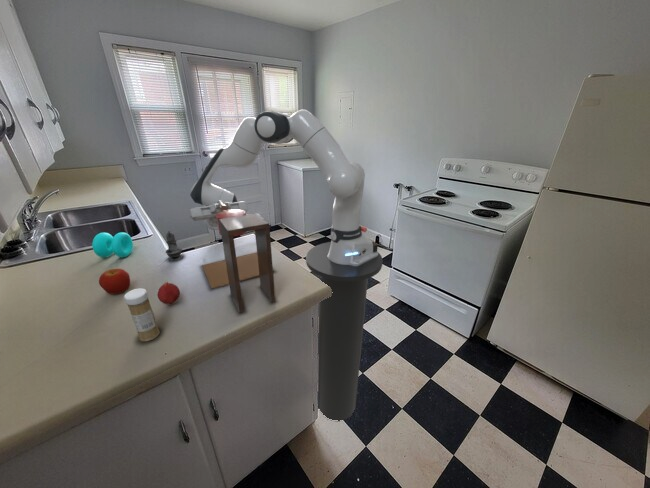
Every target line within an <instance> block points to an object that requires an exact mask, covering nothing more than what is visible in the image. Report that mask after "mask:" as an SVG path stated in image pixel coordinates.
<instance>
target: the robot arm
mask: <svg viewBox="0 0 650 488" xmlns="http://www.w3.org/2000/svg"><path fill="white" fill-rule="evenodd" d="M293 140H294V141H296V142H297V143H298V145H300V147H301V148H302V149H303V150H304V152H305V153H306V154H307V155H308V156H309V158H311V161H313V162H314V164H315V165H316V166H317V168H318V169H319V171H320V173H321V174H322V176H323V178H324V180H325V181H326V183H327V186H328V189H329V191H330V193H331V194H332V195H333V196H334V199H333V200H334V201H333V205H332V216H331V217H332V218H331V219H332V220H331V223H332V224H331V226H330V240H331V241H330V242H331V245H330V250H329V253H328V259H329V260H330V261H332V262H334V263H337V264H342V265H351V266H359V265H361V264H363V263H365V262H367V261H369V260H371V259H373V258H375V257H377V256H378V253H379V251H378V249H379V247H378V244H377V243H376V242H375V241H372V240H371V239H370V238H368V237H367V236H366V235H365V234H363V233H367V231H368V228H367V227H365V226H361V225H360V222H361V221H360V220H361V207H362V203H363V202H362V201H363V195H364V186H365V180H366V179H365V178H366V173H365V169H364V167H363V166H362V165H361V164H359V163H358V162H355V161H349V160H348V158H347V156H346V155H345V153H344V151H343V150H342V148H341V145H340V144H339V143H338V141H337V140H336V139H335V138H334V136H333V135H332V134H331V133H330V131H329V130H328V129H327V128H326V127H325V125H324V124H323V123H322V122H321V121H320V120H319V119H318V118H317V117H316V116H315V115H314V114H313V113H311V112H310V111H309V110H307V109H304V108H302V109H299V110H296V111H295V112H294V113H292V115H291V116H290V115H287V114H285V113H282V112H281V111H280V112H279V111H274V110H264V111H262V112H260V113H259V114H258V115H257V116H256V117H254V116H253V117H252V116H247V117H245V118H244V119H243V120H242V121H241V123H240V124H239V125H238V127H237V129H236V130H235V133H234V135H233V137H232V140H231V142H230V143H229V144H228V145H227V146H226V147H221V148H219V149H218V150H217V151H216V152H215V154H214V155H213V157H212V158H211V159H210V160H209V162H208V164H207V166H206V167H205V169H204V170H203V172H202V174H201V175H200V177H199V178H198V179H197V180H196V182H194V184H193V185H192V187H191V189H190V193H189V196H190V198H191V199H192V201H193V203H195V204H199V205H202V206H197V207H192V208H190V209H189V211H190V215H189V219H190V220H192V221H194V222H200V221H204V225H205V227H207V228H208V229H209V230H211V231H219V229H218V224H217V218H216V215H217V214H218V213H219V212H222V211H221V210H220V208H219V204H217V201H222V202H223V203H224V204H225V205H226V206H227V207H228V208H229V209H230V210H232V209H238V210H243V211H245V212H246V213H247V212H248V211H249V207H248V202H247V201H245V200H242V201H238V198H237V196H236V194H235V193H234V192H232V191H229V190H228V189H225V188H222V187H220V186H218V185H215V184H214V183H211V180H212V179H213V178H214V176H215V175H216V173H217V171H218V170H220V169H221V168H235V169H246V168H249V167H252V166H253V165H254V164H255V162H256V161H257V159H258V157H259V155H260V153H261V150H262V148H263V146H264V145H265V143H267V144H276V145H283V144H288V143H290V142H293Z"/></svg>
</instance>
